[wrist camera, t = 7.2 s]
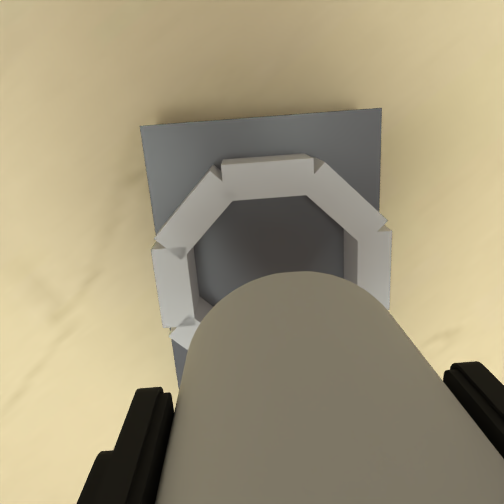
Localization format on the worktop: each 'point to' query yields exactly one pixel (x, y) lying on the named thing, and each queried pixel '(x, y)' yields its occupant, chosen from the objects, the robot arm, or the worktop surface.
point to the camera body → (263, 208)
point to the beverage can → (318, 407)
